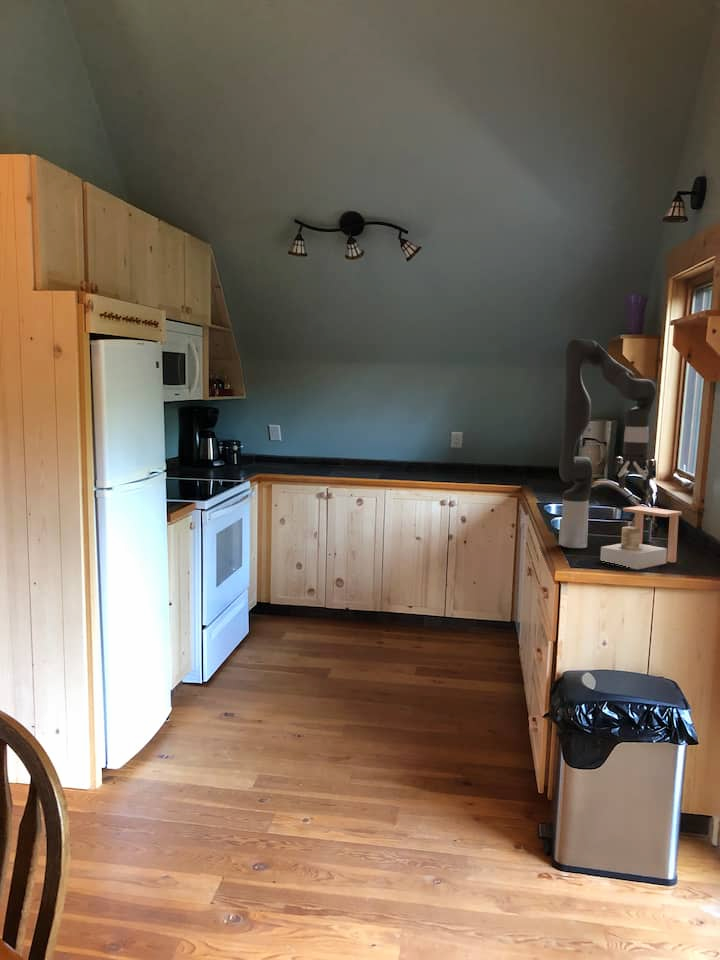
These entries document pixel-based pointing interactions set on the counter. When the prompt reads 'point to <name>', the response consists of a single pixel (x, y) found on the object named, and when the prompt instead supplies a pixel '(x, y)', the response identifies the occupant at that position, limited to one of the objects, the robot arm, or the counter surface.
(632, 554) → the socket block
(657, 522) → the counter surface
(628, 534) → the peg
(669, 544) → the wooden arch frame
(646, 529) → the supplement bottle
